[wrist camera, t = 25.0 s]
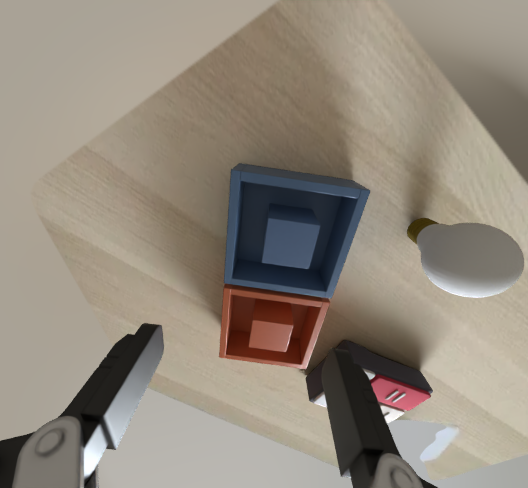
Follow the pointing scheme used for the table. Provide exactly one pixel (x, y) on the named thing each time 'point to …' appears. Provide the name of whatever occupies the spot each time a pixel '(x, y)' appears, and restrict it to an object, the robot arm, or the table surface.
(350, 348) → the calculator
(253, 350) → the terracotta bin
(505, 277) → the light bulb
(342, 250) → the blue bin
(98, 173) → the table surface
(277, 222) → the blue block
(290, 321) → the terracotta block
